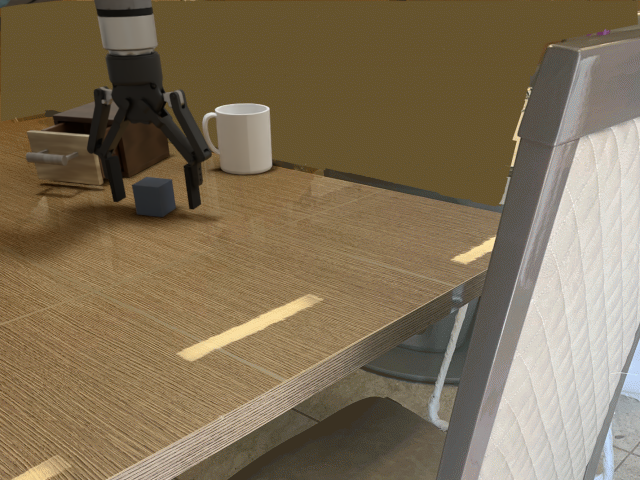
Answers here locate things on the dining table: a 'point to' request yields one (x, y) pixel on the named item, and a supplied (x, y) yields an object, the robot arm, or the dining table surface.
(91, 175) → the drawer
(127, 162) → the cabinet
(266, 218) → the dining table surface
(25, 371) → the dining table surface
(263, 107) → the mug
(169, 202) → the block
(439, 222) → the dining table surface
